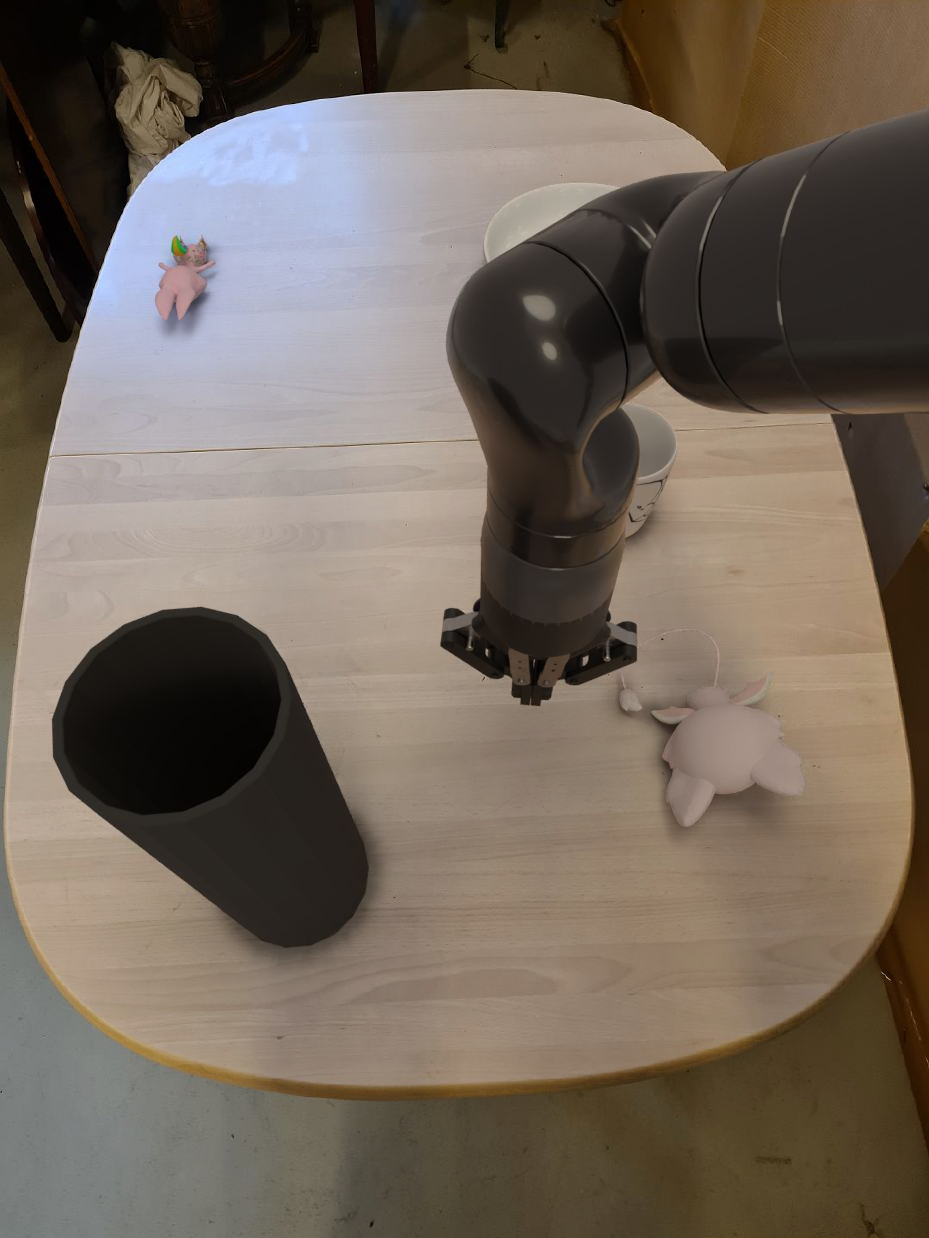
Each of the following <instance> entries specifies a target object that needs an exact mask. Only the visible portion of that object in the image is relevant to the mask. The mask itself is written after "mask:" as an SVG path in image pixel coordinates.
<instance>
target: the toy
mask: <svg viewBox="0 0 929 1238" xmlns="http://www.w3.org/2000/svg"><path fill="white" fill-rule="evenodd" d="M679 632H698V633H700V634H703V635H705V636H706V637H707V638H709V640H710V641H711V643H712V644H713V645H714V648H715V653H716V662H715V663H716V664H715V672H714V675H713V684H712V685H706V686H702V687H699V688H697V689H695V690H693V691H692V692H691V693H689V695H688V696H687V699H686V702H685V703H686V707H682V708H681V707H676V706H674V705H671V706H670V707H668V708H666V709H657V710H656V709H655V710H654V709H653V710H651V711H650V714H651V715H652V716H653V717H654V718H656V719H657V720H658V721H660V722H661V723H664V724H668V725H676V724H678V725H677V726H676V728H675V729H674V731H673V733H672V734H671V736H670V737H669V739H668V740H667V742H666V744H665V746H664V749H663V751H662V754H661V755H662V759H663V760H664V761H665V762H667V763H669V768H670V769H671V770H672V774H671V777H670V780H669V782H668V784H667V787H666V790H665V802H666V803H668V804H669V805H670V807H671V808H670V809H671V811H672V814H673V817H674V818H675V820H676V823H678V825H680V826H681V827H684V828H689V827H691V826H693V825H694V824H695V823H696V822H697V821H698V820H699V819H700V818H701V817H702V816H703V815H704V814H705V812H706V811H707V809H708V808H709V807H710V804H711V803H712V801H713V798H714V796H715V795H730V794H735V793H739V792H742V791H745V790H747V789H749V788H750V787H752V786H753V785H755V784H757V786H760V788H761V787H762V788H763V789H765V790H766V791H767V790H768V791H770V792H772V793H774V794H778V795H782V796H786V797H789V798H797V797H801V796H802V795H803V794H804V792H805V790H806V785H807V782H806V778H805V777H806V776H805V775H804V773H803V770H802V768H801V766H803V765H804V760H803V758H802V757H801V755H800V754H799V753H798V752H797V750H795V749H794V748H792V747H791V746H788V745H787V744H785V743H784V742H783V741H782V740H781V739H783V738H785V737H786V733H784V732H783V730H781V728H782V727H783V721H782V720H781V719H780V718H779V717H777V716H776V715H773V714H771V713H770V712H767V711H764V710H761V709H758V708H754V707H750V706H752V705H754V704H755V703H757V702H759V701H760V700H761V699H762V698H763V699H764V696H765V695H766V694H767V693H768V692H769V690H770V688H771V684H772V680H773V674H774V671H771V672H768V673H767V674H765V675H764V676H762V677H761V678H760V679H759V680H757V681H754V682H748V683H747V684H746V687H745V689H744V690H743V691H742V692H740V693H738V694H736V695H735V696H732V697H731V694H729V693H728V691H727V690H725V689H724V688H722V687H719V686H717V683H718V677H719V669H720V659H721V658H720V656H721V655H720V649H719V648H718V644H717V643H716V641H715V639H713V637H712V636H710V635H709V634H708V633H706V631H703V630H700V629H693V628H679V629H674V630H673V629H672V630H669V631H666V632H663V633H659V634H657V635H655V636H653V637H650V638H649V639H647V640H645V641H644V642H642V643H640V644H638V645H637V647H638V649H639V648H641V647H642V646H644V645H645V644H647V643H649V642H650V641H652V640H654V639H657V638H659V637H662V636H665V635H668V634H672V633H679ZM624 668H625V667H622V668H621V669H620V670H621V671H620V678H621V682H622V685H623V686H622V687H623V688H624V689H622V690H621V691H620V692H619V695H618V701H619V702H618V703H619V704H620V707H621V708H622V709H623V710H624V711H626V712H627V711H630V712H639V711H641V710H643V706H642V704H641V703H640V698H639V695H638V694H637V692H635V691H634V690H633V689H632V688H631V689H630V688H627V686H626V681H625V678H624Z"/></svg>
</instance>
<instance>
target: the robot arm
mask: <svg viewBox="0 0 929 1238" xmlns="http://www.w3.org/2000/svg"><path fill="white" fill-rule="evenodd" d="M445 351H446V357H447V364H448V366H449V370H450V372H451V375H452V378H453V381H454V382H455V385H456V387H457V389H458V392H459V395H460V396H461V399H462V401H463V403H464V405H465V407H466V409H467V412H468V414H469V417H470V419H471V422H472V425H473V428H474V431H475V433H476V436H477V439H478V442H479V445H480V448H481V451H482V453H483V457H484V459H485V463H486V466H487V468H486V506H485V513H484V516H483V521H482V526H481V533H480V541H479V542H480V575H479V576H480V588H479V589H480V592H479V596H480V597H479V598H478V599H476V600H475V601H474V603H473V606H472V611H471V612H466V613H465V612H464V611H462V610H461V609H459V608H457V607H448V608H446V609H444V611H443V617H442V627H441V636H440V642H439V643H440V644H439V646H440V647H441V648H442V649H444V650H445V651H446V652H448V653H450V654H451V655H453V656H454V657H455V658H457V659H459V660H460V661H462V662H464V663H465V664H467V665H468V666H469V667H471V668H473V669H474V670H476V671H478V672H479V673H480V674H482V675H484V676H485V677H487V678H488V679H490V680H491V679H492V680H501V679H503V678H504V677H505V676H507V677H509V678H510V679H511V690H510V695H511V697H512V698H513V699H520V702H519V705H521V706H533V707H534V706H535V707H541V703H542V701H549V700H551V699H552V695H553V690H554V687H555V686H556V684H557V681H562V680H564V683H565V684H566V685H568V686H574V687H575V686H580V685H583V684H586V683H588V682H590V681H593V680H595V679H598V678H600V677H603V676H606V675H608V674H610V673H613V672H615V671H617V670H621V669H622V667H624V668H625V667H627V666H630V665H633V664H634V663H636V662H637V661H638V649H639V648H638V625H637V623H636V622H634V621H632V620H631V621H630V620H625V621H621V622H618V623H617V624H615V623H614V622H611V621H612V613H611V612H610V610H609V609H610V605H611V603H612V602H611V601H612V599H613V594H614V591H615V587H616V583H617V579H618V577H619V576H618V575H619V572H620V570H621V569H620V568H621V565H622V562H623V557H624V552H625V546H626V538H625V527H626V522H627V518H628V514H629V510H630V506H631V502H632V498H633V495H634V492H635V488H636V484H637V479H638V474H639V464H640V445H639V438H638V435H637V432H636V429H635V427H634V424H633V423H632V421H631V419H630V418H629V416H628V415H627V414H626V412H625V411H624V410H623V409H622V408H621V406H622V405H624V404H625V403H629V402H630V401H631V400H633V399H634V398H635V397H637V396H639V395H640V394H641V393H643V391H645V390H646V389H648V388H650V387H651V386H653V385H654V384H655V383H656V382H658V381H659V380H660V379H663V380H664V381H665V383H667V384H668V385H669V386H670V387H671V388H672V389H673V390H674V391H675V392H676V393H678V394H679V395H680V396H682V397H683V398H685V399H687V400H688V401H690V402H692V403H694V404H696V405H699V406H701V407H704V408H707V409H711V410H715V411H721V412H725V413H726V412H727V413H733V414H747V415H884V414H885V415H886V414H889V415H890V414H897V415H898V414H925V415H927V414H929V107H928V108H924V109H920V110H917V111H912V112H908V113H905V114H901V115H896V116H893V117H890V118H886V119H883V120H880V121H876V122H874V123H871V124H867V125H863V126H860V127H858V128H857V127H856V128H855V129H852V130H849V131H845V132H842V133H839V134H836V135H833V136H829V137H826V138H824V139H819V140H817V141H813V142H811V143H808V144H804V145H801V146H798V147H795V148H791V149H788V150H784V151H781V152H777V153H775V154H771V155H769V156H766V157H763V158H759V159H757V160H753V161H751V162H748V163H745V164H744V165H741V166H738V167H735V168H733V169H731V170H708V171H707V170H706V171H693V172H684V173H683V172H682V173H673V174H672V173H671V174H663V175H659V176H655V177H650V178H646V179H642V180H640V181H637V182H633V183H630V184H627V185H625V186H622V187H620V188H619V189H617V190H614V191H612V192H609V193H607V194H605V195H602V196H600V197H598V198H596V199H594V200H592V201H590V202H588V203H587V204H585V205H583V206H581V207H580V208H578V209H576V210H575V211H573V212H571V213H570V214H568V215H567V216H565V217H564V218H562V219H560V220H559V221H557V222H555V223H553V224H552V225H550V226H548V227H547V228H545V229H543V230H542V231H540V232H538V233H537V234H535V235H533V236H532V237H530V238H528V239H526V240H525V241H523V242H521V243H520V244H518V245H516V246H515V247H513V248H511V249H510V250H508V251H506V252H505V253H503V254H501V255H499V256H498V257H496V258H495V259H493V260H492V261H490V262H488V263H487V264H485V263H484V264H483V265H482V266H481V267H479V269H478V270H476V271H475V272H474V273H473V274H472V275H471V276H470V277H469V278H468V280H467V281H466V282H465V284H464V285H463V286H462V287H461V289H460V291H459V293H458V295H457V297H456V299H455V301H454V304H453V306H452V309H451V312H450V315H449V319H448V321H447V328H446V334H445ZM586 657H587V662H586V664H584V658H586Z"/></svg>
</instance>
